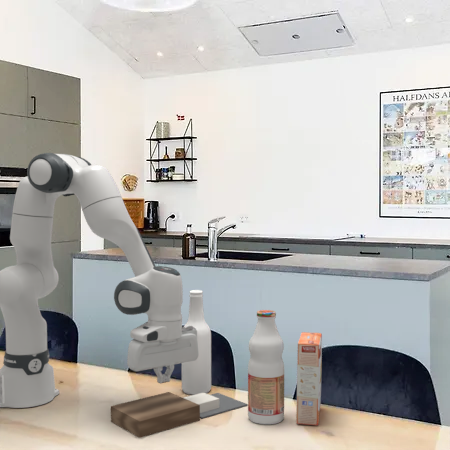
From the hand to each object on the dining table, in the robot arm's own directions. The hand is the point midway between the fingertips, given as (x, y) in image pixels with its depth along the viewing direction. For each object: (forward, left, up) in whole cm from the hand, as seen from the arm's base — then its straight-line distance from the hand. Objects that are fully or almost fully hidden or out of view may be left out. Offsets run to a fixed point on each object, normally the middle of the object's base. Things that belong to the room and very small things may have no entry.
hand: (163, 382), depth 155 cm
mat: (+1, +15, -9) cm, 18 cm away
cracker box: (+24, +30, -10) cm, 39 cm away
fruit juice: (+18, +20, -10) cm, 28 cm away
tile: (+1, +11, -9) cm, 14 cm away
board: (+1, -3, -9) cm, 10 cm away
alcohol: (-12, +20, -10) cm, 25 cm away
